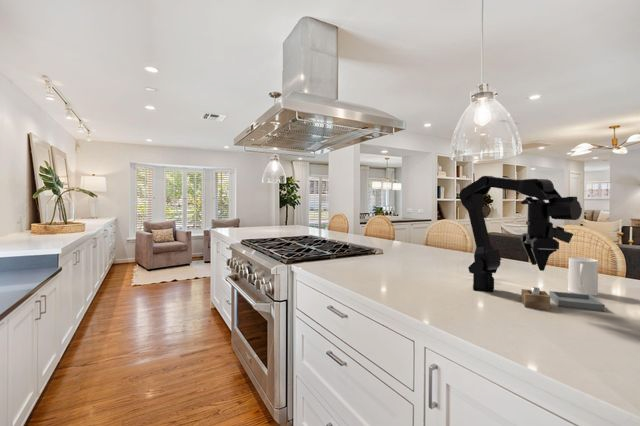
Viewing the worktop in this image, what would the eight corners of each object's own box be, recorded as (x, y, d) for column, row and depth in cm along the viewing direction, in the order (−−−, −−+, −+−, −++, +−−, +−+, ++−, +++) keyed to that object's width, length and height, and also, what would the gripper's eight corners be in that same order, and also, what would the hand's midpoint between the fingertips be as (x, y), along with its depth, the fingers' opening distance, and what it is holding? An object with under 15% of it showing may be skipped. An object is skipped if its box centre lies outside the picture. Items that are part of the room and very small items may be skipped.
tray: (558, 306, 96) (558, 300, 96) (549, 296, 106) (549, 290, 106) (604, 311, 91) (604, 304, 91) (590, 300, 101) (590, 294, 101)
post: (531, 305, 97) (531, 288, 96) (530, 303, 99) (530, 286, 98) (540, 306, 96) (540, 289, 96) (538, 304, 98) (538, 287, 98)
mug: (594, 299, 103) (595, 263, 102) (562, 293, 109) (563, 260, 109) (600, 292, 110) (601, 259, 110) (570, 287, 117) (570, 256, 116)
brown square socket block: (525, 307, 96) (525, 294, 95) (521, 301, 101) (521, 289, 101) (550, 309, 93) (550, 296, 93) (544, 303, 99) (544, 291, 99)
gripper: (582, 220, 85) (581, 276, 85) (559, 217, 102) (559, 263, 103) (534, 220, 89) (533, 273, 90) (520, 217, 106) (520, 261, 107)
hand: (537, 267), depth 97 cm, fingers open, 9 cm apart
